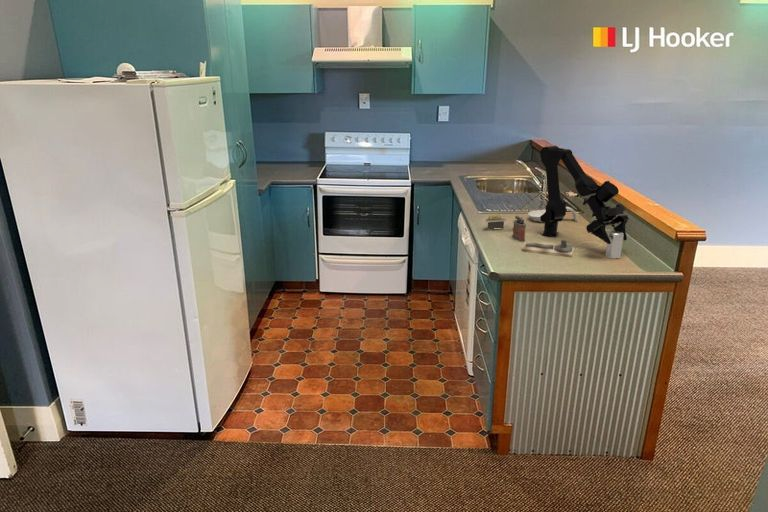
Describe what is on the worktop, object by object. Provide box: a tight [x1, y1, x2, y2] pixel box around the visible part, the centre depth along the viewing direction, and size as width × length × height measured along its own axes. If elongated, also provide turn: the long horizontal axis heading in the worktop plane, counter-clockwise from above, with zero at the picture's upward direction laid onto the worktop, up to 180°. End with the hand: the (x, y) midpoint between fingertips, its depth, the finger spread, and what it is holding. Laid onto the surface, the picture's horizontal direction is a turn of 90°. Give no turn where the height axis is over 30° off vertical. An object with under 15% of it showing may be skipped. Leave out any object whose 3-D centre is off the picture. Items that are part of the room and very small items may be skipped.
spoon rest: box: [527, 206, 579, 222], centre depth 268 cm, size 24×12×7 cm, turn 88°
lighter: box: [511, 215, 527, 243], centre depth 240 cm, size 8×3×10 cm, turn 17°
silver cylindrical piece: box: [604, 230, 624, 259], centre depth 218 cm, size 6×6×10 cm
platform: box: [485, 215, 508, 230], centre depth 255 cm, size 12×18×7 cm, turn 103°
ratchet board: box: [520, 239, 575, 258], centre depth 226 cm, size 20×10×5 cm, turn 67°
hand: (617, 241), depth 216 cm, fingers open, 9 cm apart
